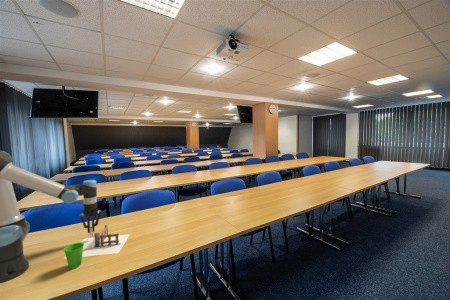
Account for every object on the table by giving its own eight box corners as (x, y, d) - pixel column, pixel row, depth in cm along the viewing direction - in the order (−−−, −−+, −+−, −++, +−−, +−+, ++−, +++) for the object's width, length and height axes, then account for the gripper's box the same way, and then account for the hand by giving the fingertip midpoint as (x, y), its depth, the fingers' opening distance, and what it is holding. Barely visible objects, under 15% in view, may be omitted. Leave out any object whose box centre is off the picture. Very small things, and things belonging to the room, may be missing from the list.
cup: (89, 260, 111) (88, 242, 111) (77, 271, 102) (76, 251, 102) (73, 261, 111) (72, 242, 110) (60, 271, 102) (58, 251, 101)
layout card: (118, 253, 118) (118, 252, 118) (62, 259, 112) (62, 258, 112) (130, 233, 142) (130, 233, 142) (85, 238, 137) (85, 237, 137)
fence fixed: (118, 245, 127) (117, 232, 126) (94, 247, 124) (93, 234, 124) (119, 243, 129) (119, 230, 129) (96, 245, 127) (95, 232, 126)
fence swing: (97, 244, 128) (96, 232, 127) (105, 235, 140) (105, 224, 139) (100, 244, 128) (99, 232, 127) (108, 235, 140) (108, 224, 139)
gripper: (78, 206, 125) (79, 242, 126) (102, 202, 133) (103, 235, 134) (78, 203, 131) (78, 237, 132) (100, 199, 139) (101, 231, 140)
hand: (91, 236), depth 133 cm, fingers closed
